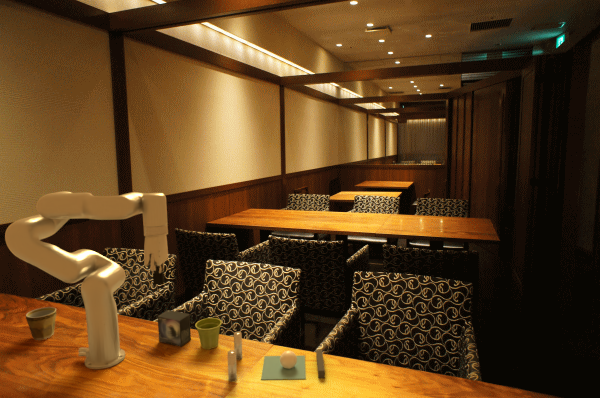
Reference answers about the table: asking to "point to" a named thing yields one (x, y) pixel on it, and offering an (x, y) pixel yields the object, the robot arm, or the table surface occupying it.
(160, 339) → the small box
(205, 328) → the plant pot
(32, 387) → the table surface
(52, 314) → the ceramic cup
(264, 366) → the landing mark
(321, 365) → the wall
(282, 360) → the ball
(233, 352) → the post
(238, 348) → the post
